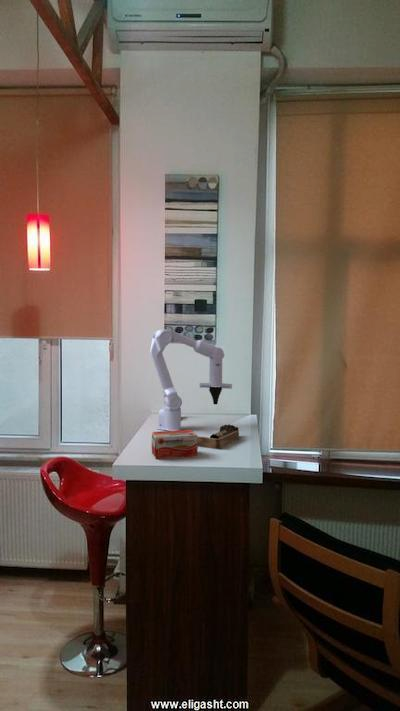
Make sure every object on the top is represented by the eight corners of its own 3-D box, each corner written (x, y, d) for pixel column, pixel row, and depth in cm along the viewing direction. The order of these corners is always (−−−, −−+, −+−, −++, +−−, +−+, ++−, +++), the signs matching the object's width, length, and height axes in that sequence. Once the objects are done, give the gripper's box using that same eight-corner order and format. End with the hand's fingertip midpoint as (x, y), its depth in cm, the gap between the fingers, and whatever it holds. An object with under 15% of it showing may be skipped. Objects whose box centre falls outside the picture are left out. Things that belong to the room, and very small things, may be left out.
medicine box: (155, 459, 167) (155, 436, 166) (151, 453, 175) (151, 431, 174) (198, 456, 171) (198, 434, 170) (192, 451, 179) (192, 429, 178)
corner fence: (188, 444, 187) (188, 435, 187) (209, 435, 203) (209, 427, 203) (218, 449, 181) (219, 439, 181) (238, 439, 196) (238, 430, 196)
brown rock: (220, 446, 186) (220, 431, 186) (205, 444, 190) (205, 430, 189) (241, 437, 201) (241, 423, 201) (227, 435, 205) (227, 422, 205)
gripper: (197, 374, 217) (197, 404, 218) (230, 375, 213) (229, 406, 214) (201, 372, 224) (201, 402, 225) (233, 373, 220) (232, 403, 221)
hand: (215, 404), depth 220 cm, fingers closed
